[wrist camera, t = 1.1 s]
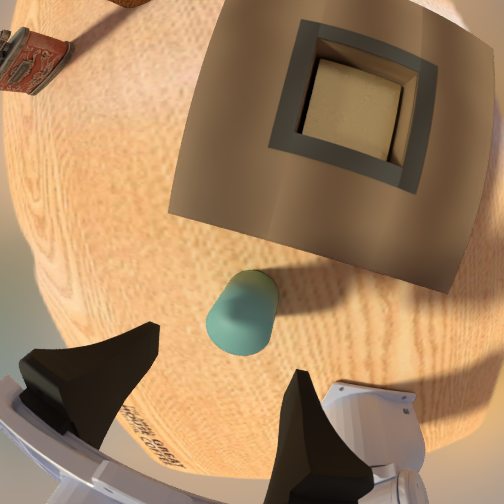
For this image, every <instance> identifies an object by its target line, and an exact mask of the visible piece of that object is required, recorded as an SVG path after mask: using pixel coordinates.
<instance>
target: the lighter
mask: <svg viewBox="0 0 504 504" xmlns="http://www.w3.org/2000/svg"><path fill="white" fill-rule="evenodd" d="M10 35H11V31H8V30H2V31H0V90H1V91H13V92H22V93H27V94H28V95H34V96H35V95H37V94H38V93H39V92H40V91H41V90H42V89H43V88H44V87H45V86H46V85H47V84H48V83H49V82H50V81H51V80H52V79H53V78H54V77H55V76H56V75H57V74H58V73H59V71H60V70H61V69H62V68H63V67H64V66H65V64H66V63H67V62H68V61H69V60H70V58H71V57H72V55H73V53H74V49H75V46H74V44H73V43H71V42H68V41H65V42H63V41H61V40H58V39H55V38H52V37H49V36H46V35H42V34H39V33H36V32H33V31H30V30H29V28H26V27H21V28H20V29H19V30H18V31H17V32H16V33H15V34H14V35H13V36H12V38H11V39H10V40H9V41H8V39H9V37H10ZM7 41H8V42H7Z"/></svg>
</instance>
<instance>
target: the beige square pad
mask: <svg viewBox="0 0 504 504" xmlns="http://www.w3.org/2000/svg"><path fill="white" fill-rule="evenodd" d="M400 91H401V85H398V84H396V83H394V82H391V81H389V80H386V79H384V78H381V77H378V76H376V75H373V74H370V73H367V72H364V71H361V70H358V69H355V68H352V67H349V66H345V65H342V64H339V63H335V62H332V61H328V60H324V59H320V62H319V66H318V71H317V75H316V79H315V83H314V87H313V92H312V96H311V100H310V104H309V108H308V112H307V116H306V120H305V124H304V128H303V132H302V134H303V135H306V136H310V137H314V138H317V139H321V140H324V141H328V142H331V143H334V144H337V145H341V146H344V147H347V148H350V149H353V150H356V151H359V152H362V153H365V154H367V155H370V156H373V157H376V158H378V159H381V160H384V161H386V160H387V156H388V152H389V147H390V143H391V138H392V134H393V129H394V124H395V119H396V114H397V108H398V103H399V97H400Z"/></svg>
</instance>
